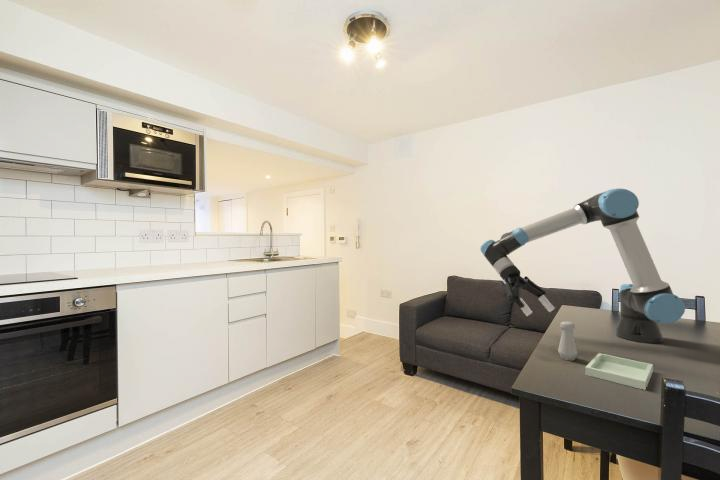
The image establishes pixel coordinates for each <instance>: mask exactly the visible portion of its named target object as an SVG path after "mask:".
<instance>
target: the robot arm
mask: <svg viewBox="0 0 720 480" xmlns="http://www.w3.org/2000/svg"><path fill="white" fill-rule="evenodd" d="M639 205H640V201H639V199H638V196H637V195H636V194H635V193H634V192H633V191H632V190H628V189H625V188H612V189H608V190H606V191H603V192H600V193H598V194H594V195H593V196H592V197H589V198H588V199H586V200H584V201H582V202H580V203H577V204H575V205H573V207H572V208H570V209H568V210H565V211H562V212H559V213H557V214H554V215H551V216H548V217H547V218H544V219H541V220H539V221H536V222H533V223H530V224H527V225H525V226H522V227H516V228H515V229H512V231H510V232H505V233H503V234H502V235H501V236H500V239H499V240H496V241H495V240H493V239H488V240H485V242H483V243H482V245H481V246H480V252H481V253H482V254H483V256H484V257H485V259H486V260H487V261H488V262H489V264H490V265H491V267H493V268H494V270H495V271H496V272H497V274H498V275H499V276H500V278H501V280H502V281H501V283H502V285H503V287H504V290H505V293H506V296H507V299H508V300H509V301H510V302H511V303H513V304H516V305H517V306H518V307H519V309H520V310H521V311H522V312H523V313H524V315H525V316H526V317H529V316H530V315H532V314H533V311H532V310H531V308H530V306H529V305H528V304H527V303H526V302H525V301H524V298H522V297H520V291H519V290H523V291H524V290H525V291H527V292H528V293H530V294H531V295H534V296H535V297H537V298H538V301H539V302H540V303H541V305H543V307H544V308H545V310H547V311H548V312H549V313H551V312H552V311H554V310H555V309H556V307H555V306H554V305H553V304H552V303H551V302H550V300H549V299H548V298H547V297H546V294H547V291H545V290H544V289H543V288H541V287H540V285H539V286H538V284H536V283H535V282H534V281H532V280H531V279H530V277H528V276H524V277H522V276H521V271H520V270H519V269H518V267H517V266H516V265H515V263H514V262H513V261H512V260H511V259H510V258H509V257H508V255H510V254H512V253H513V252H514V251H516V250H519V248H521V247H523V246H525V245H526V244H527V243H530V242H532V241H536V240H539V239H542V238H544V237H547V236H550V235H552V234H555V233H558V232H560V231H563V230H567V229H569V228H572V227H575V226H577V225H580V224H582V225H587V224H591V223H594V222H599V221H600V222H601V225H602V227H603V228H606V229H608V230H609V232H610V234H611V236H612V238H613V241H614V243H615V246H616V247H617V250H618V252H619V255H620V257H621V259H622V262H623V264H624V267H625V269H626V271H627V274H628V276H629V278H630V281H631V283H629V284H628V283H623V284H621V285H620V287H619V297H620V298H619V302H620V304H619V307H620V318H619V320H618V324H617V327H616V328H615V335H616V336H617V337H619V338H622V339H625V340H629V341H633V342H638V343H645V344H646V343H647V344H649V343H650V344H658V343H663V342H664V335H663V334H662V333H661V332H662V331H661V329H660V326H659V324H672V323H675V322H677V321H679V320H681V319H682V317H683V315H684V314H685V312H686V306H685V305H686V304H685V302H684V301H683V300H682V298H680V297H679V296H677V295H676V294H674V292H673V290H672V288H671V286H670V284H669V282H666V281H663V280H662V279H661V277H660V274H659V271H658V269H657V267H656V264H655V263H654V260H653V258H652V256H651V253H650V251H649V249H648V246H647V244H646V241H645V239H644V237H643V235H642V232H641V230H640V228H639V226H638V224H637V221H638V220H639V218H640V215H639V213H638V208H639ZM658 323H659V324H658Z"/></svg>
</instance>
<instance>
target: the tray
mask: <svg viewBox="0 0 720 480" xmlns="http://www.w3.org/2000/svg"><path fill="white" fill-rule="evenodd" d="M584 370H585V373H584V375H585V376H589V377H592V378H597V379H601V380H604V381H608V382H613V383H615V384H616V383H617V384H619V385H624V386H628V387H631V388H636V389H639V390H642V389H643V390H642V391H646V389H647V388H648V385H649V382H650V380H651V378H652V375H653V373H654V364H652V363H648V362H644V361H638V360H633V359H629V358H625V357H620V356H616V355H615V356H614V355H611V354H604V353H601V352H598V353H597V354H596V355H595V356H594V357H593V358H592V359H591V361H590V362H588V363H587V364H586V366H585V369H584ZM646 387H647V388H646Z"/></svg>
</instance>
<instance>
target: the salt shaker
mask: <svg viewBox="0 0 720 480" xmlns="http://www.w3.org/2000/svg"><path fill="white" fill-rule="evenodd" d="M559 327H560V328H561V329H562V331H561V336H560V341H559V343H558V344H559V345H558V349H557V351H558V353H559V356H560V358H561V359H563V360H564V361H574V360H576V359H577V356H578V347H577V344H576V339H575V335H574V330H575V328H576V326H575V323H573V322H570V321H561V322H560V325H559Z"/></svg>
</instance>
